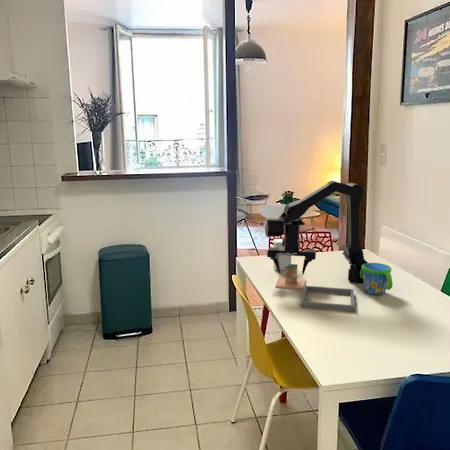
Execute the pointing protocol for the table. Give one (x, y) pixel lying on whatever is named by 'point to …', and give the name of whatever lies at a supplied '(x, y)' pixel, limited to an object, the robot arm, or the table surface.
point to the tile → (281, 284)
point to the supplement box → (283, 258)
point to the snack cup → (376, 278)
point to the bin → (328, 305)
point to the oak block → (291, 274)
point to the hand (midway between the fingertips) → (291, 274)
